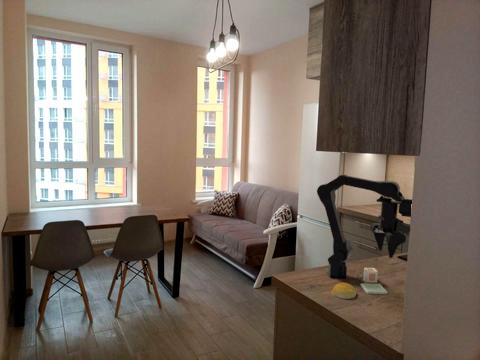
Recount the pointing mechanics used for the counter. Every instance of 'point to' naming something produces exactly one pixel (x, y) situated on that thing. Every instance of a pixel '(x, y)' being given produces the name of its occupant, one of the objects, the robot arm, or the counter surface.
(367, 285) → the green tray
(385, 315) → the counter surface
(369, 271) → the letter block
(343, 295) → the bread roll
